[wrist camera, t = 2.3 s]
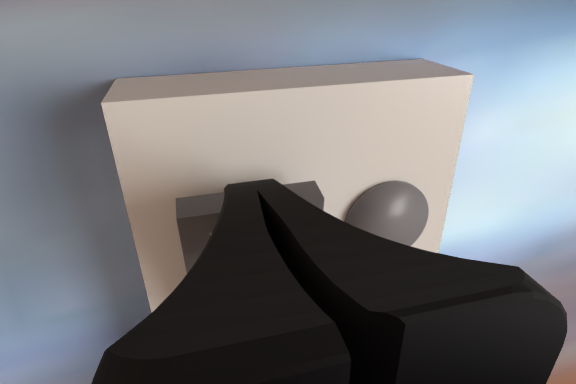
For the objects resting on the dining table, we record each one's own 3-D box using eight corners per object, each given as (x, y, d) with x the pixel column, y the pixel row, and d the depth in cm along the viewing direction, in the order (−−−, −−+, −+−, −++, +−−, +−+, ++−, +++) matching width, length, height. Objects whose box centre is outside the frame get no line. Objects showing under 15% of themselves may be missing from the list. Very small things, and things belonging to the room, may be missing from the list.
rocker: (302, 281, 15) (315, 314, 14) (195, 300, 14) (198, 338, 13) (309, 170, 12) (325, 199, 11) (175, 187, 11) (176, 221, 10)
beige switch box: (379, 374, 24) (406, 426, 21) (190, 420, 21) (192, 485, 18) (423, 58, 15) (478, 75, 12) (115, 78, 13) (99, 105, 10)
